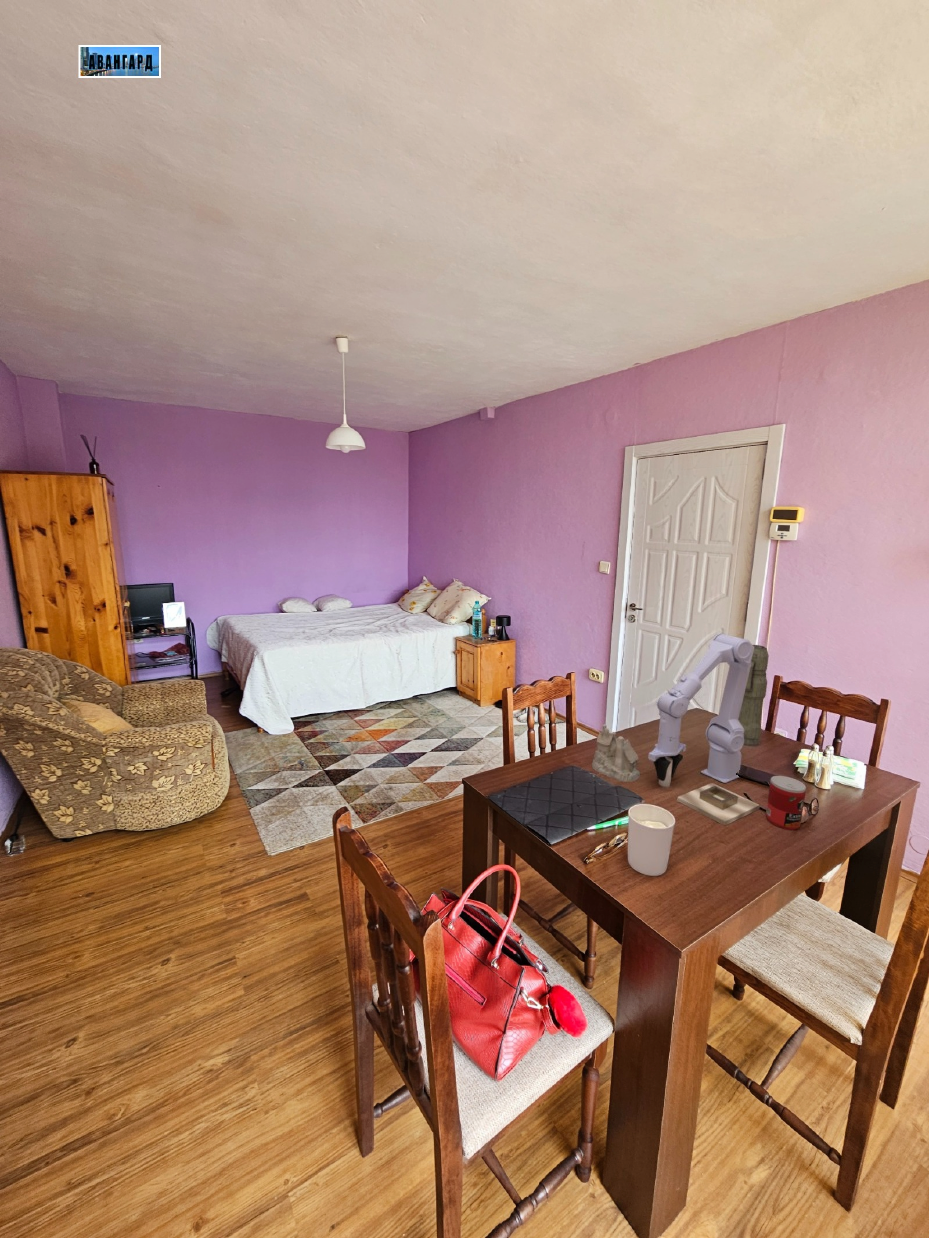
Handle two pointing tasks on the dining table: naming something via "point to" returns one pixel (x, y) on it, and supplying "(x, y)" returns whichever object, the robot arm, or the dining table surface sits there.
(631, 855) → the candle holder
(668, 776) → the ivory candle
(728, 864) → the dining table surface
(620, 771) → the ceramic cottage
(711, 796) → the candle stand
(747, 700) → the green stone statue
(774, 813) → the canned food
